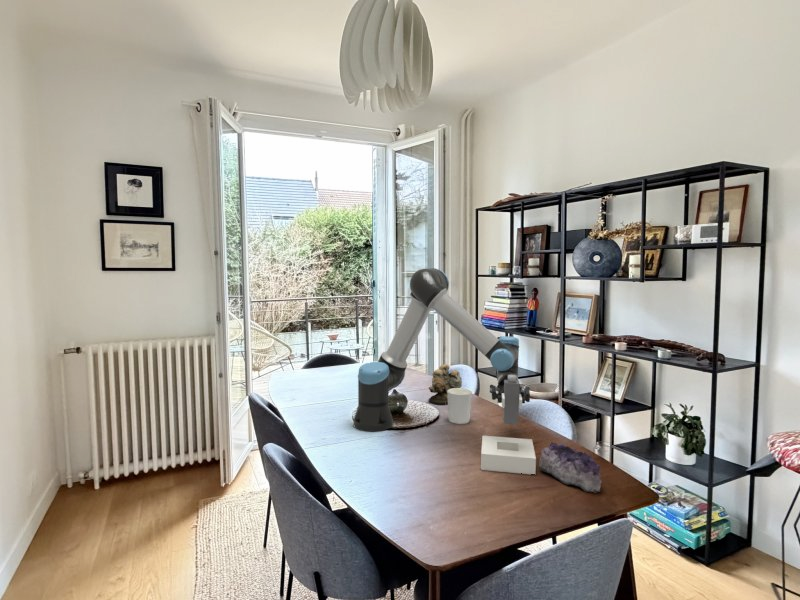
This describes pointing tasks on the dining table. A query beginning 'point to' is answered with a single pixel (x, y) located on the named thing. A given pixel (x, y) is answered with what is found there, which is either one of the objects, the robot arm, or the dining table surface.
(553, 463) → the geode
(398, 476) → the dining table surface
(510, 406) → the plug
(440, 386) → the olive rock sculpture
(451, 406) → the candle holder
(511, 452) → the socket block
